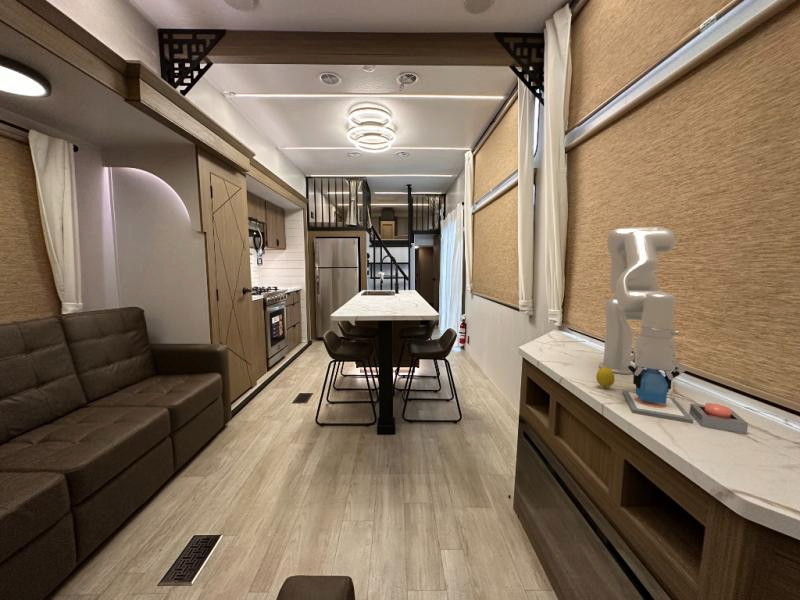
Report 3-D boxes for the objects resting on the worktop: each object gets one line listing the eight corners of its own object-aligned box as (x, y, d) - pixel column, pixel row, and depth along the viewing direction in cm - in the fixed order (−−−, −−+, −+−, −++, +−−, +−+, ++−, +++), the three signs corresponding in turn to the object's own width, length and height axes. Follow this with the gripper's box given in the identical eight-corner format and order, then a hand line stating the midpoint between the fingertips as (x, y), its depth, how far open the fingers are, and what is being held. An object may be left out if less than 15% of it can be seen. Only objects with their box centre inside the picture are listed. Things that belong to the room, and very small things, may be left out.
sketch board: (622, 392, 109) (622, 389, 109) (673, 400, 103) (674, 397, 103) (632, 412, 94) (632, 408, 94) (693, 423, 88) (693, 419, 88)
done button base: (689, 412, 94) (690, 403, 94) (730, 419, 90) (731, 409, 90) (701, 426, 86) (702, 415, 86) (746, 434, 82) (748, 423, 82)
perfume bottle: (641, 400, 97) (644, 363, 96) (635, 392, 103) (638, 357, 102) (666, 403, 95) (670, 365, 94) (658, 395, 101) (662, 359, 99)
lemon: (616, 391, 110) (618, 369, 110) (599, 390, 112) (600, 368, 111) (609, 385, 116) (611, 364, 115) (593, 384, 117) (594, 364, 116)
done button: (701, 410, 91) (702, 401, 91) (725, 414, 89) (726, 405, 89) (708, 417, 87) (709, 409, 87) (734, 422, 84) (735, 413, 84)
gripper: (688, 333, 96) (682, 389, 98) (620, 328, 104) (616, 380, 106) (697, 338, 89) (691, 398, 91) (624, 332, 97) (619, 387, 99)
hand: (651, 388), depth 99 cm, fingers closed on perfume bottle, 6 cm apart
